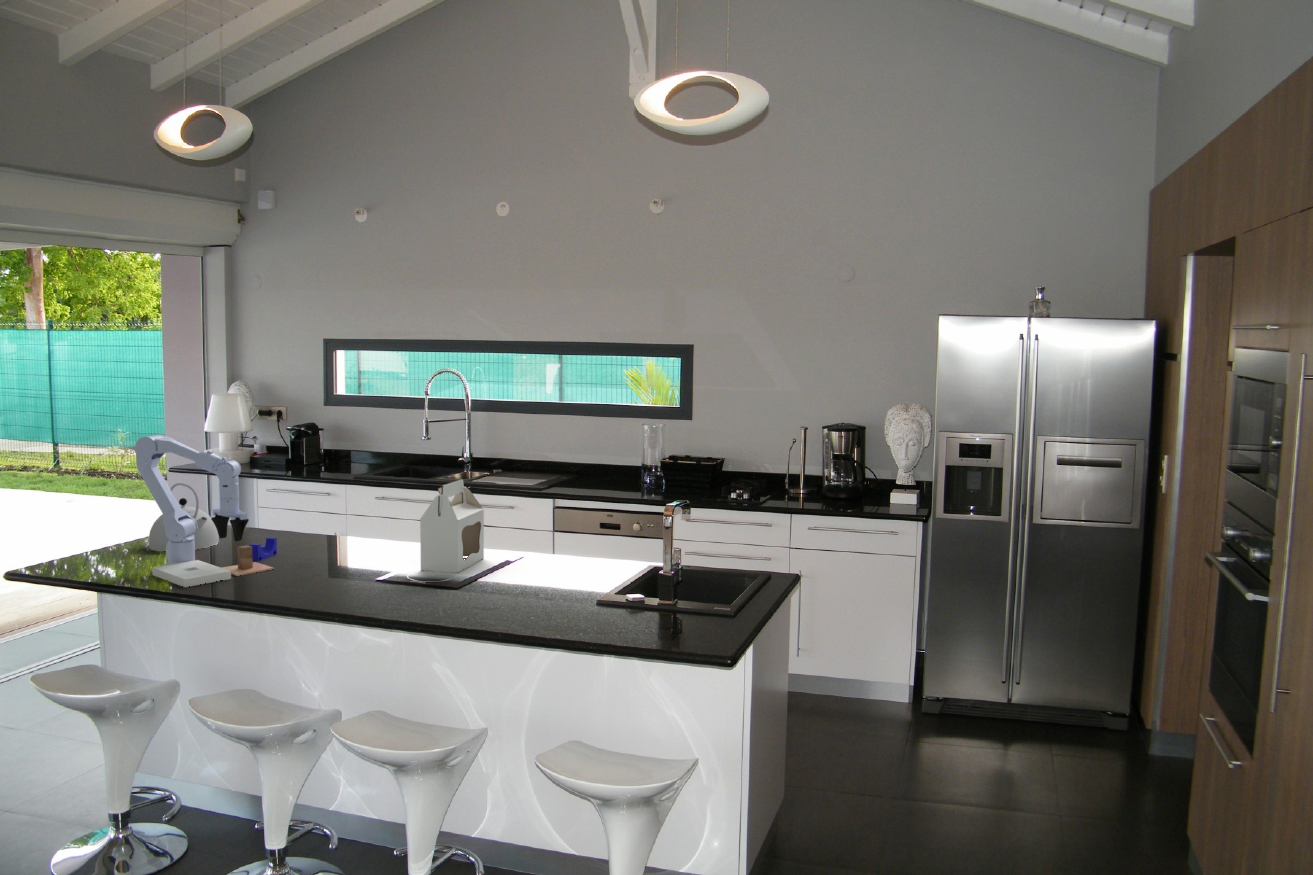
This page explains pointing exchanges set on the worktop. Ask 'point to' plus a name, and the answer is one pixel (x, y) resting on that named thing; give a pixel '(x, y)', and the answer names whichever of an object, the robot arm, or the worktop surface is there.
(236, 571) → the terracotta tile
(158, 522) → the kettle
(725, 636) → the worktop surface
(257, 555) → the cable clip
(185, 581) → the board
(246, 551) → the walnut peg
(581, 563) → the worktop surface
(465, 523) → the gable box
